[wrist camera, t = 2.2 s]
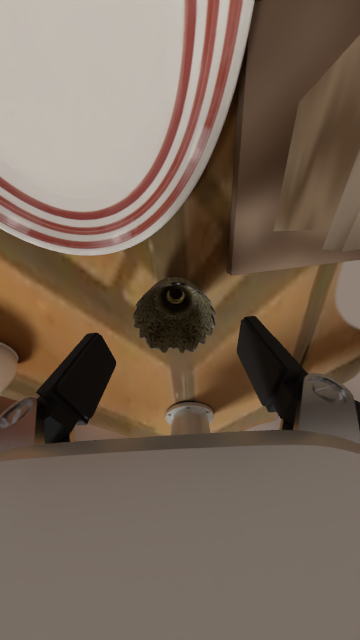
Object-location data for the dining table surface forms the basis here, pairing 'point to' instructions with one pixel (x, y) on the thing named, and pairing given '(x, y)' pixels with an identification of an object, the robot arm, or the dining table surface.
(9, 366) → the lidded jar
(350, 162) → the cream pedestal stand
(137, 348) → the dining table surface
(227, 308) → the dining table surface
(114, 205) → the dinner plate
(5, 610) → the robot arm
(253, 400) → the dining table surface
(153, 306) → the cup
